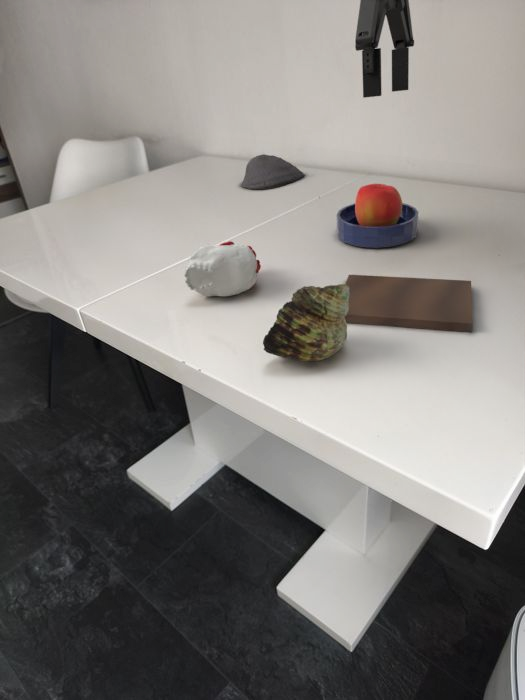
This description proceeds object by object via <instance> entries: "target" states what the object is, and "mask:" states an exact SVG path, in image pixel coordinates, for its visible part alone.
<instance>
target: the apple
mask: <svg viewBox="0 0 525 700" xmlns="http://www.w3.org/2000/svg"><path fill="white" fill-rule="evenodd" d="M402 203H403V199H402V196H401V194H400V192H399V191H398V190H397V188H396V187H395V186H392V185H387V184H384V183H370V184H366V185H363V186H361V187H360V188H359V189H358V191H357V193H356V197H355V202H354V204H355V213H356V218H357V220H358V223H359V224H360V226H370V227H381V226H392V225H396V223H397V222H398V220H399V218H400V215H401V211H402Z"/></svg>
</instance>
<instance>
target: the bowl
mask: <svg viewBox="0 0 525 700" xmlns="http://www.w3.org/2000/svg"><path fill="white" fill-rule="evenodd" d="M419 213H420V212H419V211H418V209H417V208H416V207H414V206H413V205H411V204H408V203H404V202H402V211H401V215H400V218H399V220H398V222H397V223H396V225H392V226H381V227H370V226H360V224H359V223H358V220H357V218H356V213H355V203H352V204H349V205H345V206H343V207H342V208H340V209H339V210H338V211H337V213H336V235H337V238H338V239H339V240H341V241H342V242H343V243H345V244H349V245H351V246H355V247H361V248H375V249H377V248H389V247H391V248H392V247H396V246H401V245H404V244H406V243H408V242H411V241H412V240H414V238H416V237H417V236H418V235H417V234H418V225H419Z"/></svg>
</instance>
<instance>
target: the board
mask: <svg viewBox="0 0 525 700" xmlns="http://www.w3.org/2000/svg"><path fill="white" fill-rule="evenodd" d="M345 284H346V285H348V286H349V293H350V294H349V310H348V312H347V315H346V316H345V320H346V324H359V325H373V326H385V327H399V328H400V327H401V328H411V329H423V330H425V329H427V330H436V331H437V330H438V331H451V332H462V333H463V332H464V333H472V330H473V324H474V323H473V297H472V280H467V279H465V280H463V279H443V278H427V277H426V278H423V277H404V276H403V277H402V276H383V275H367V274H366V275H364V274H348V275H347V278H346V281H345Z"/></svg>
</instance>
